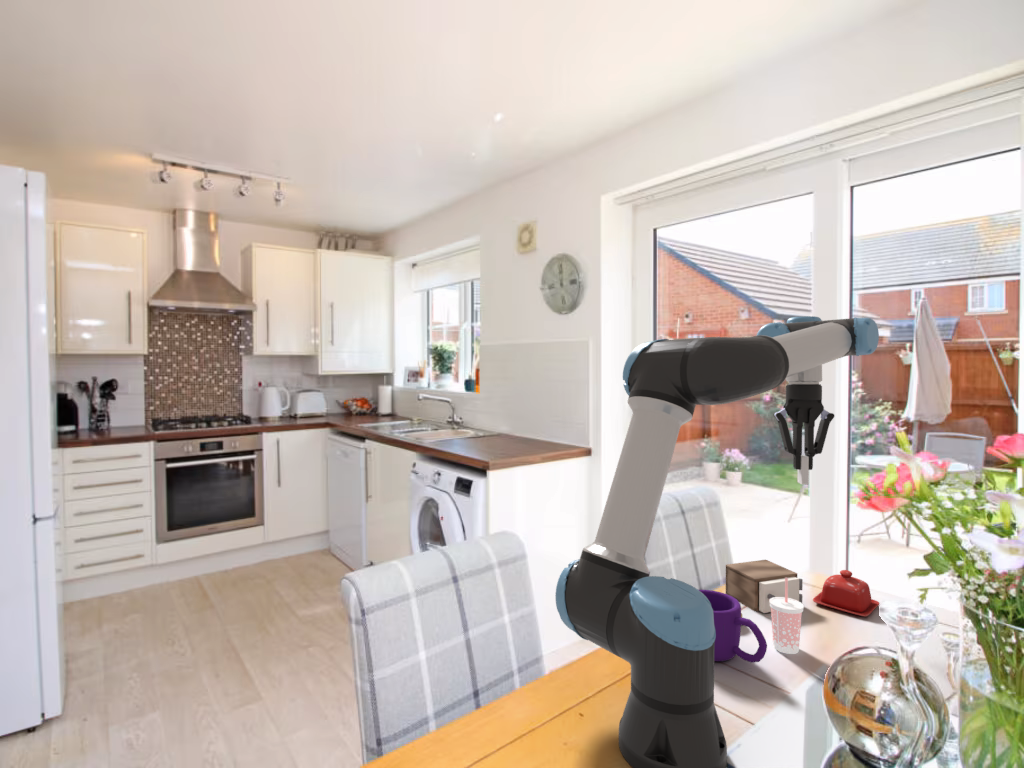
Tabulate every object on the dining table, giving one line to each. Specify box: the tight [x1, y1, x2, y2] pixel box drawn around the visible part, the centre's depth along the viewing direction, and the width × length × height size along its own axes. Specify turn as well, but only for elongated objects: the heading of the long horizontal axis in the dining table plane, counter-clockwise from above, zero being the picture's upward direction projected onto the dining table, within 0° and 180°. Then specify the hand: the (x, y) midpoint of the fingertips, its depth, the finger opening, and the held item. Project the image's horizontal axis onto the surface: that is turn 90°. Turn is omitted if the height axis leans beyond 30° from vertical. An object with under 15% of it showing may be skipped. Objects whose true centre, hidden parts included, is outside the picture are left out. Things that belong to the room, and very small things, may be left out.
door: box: [758, 577, 803, 614], centre depth 126 cm, size 12×3×6 cm, turn 109°
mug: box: [698, 589, 768, 664], centre depth 106 cm, size 17×11×10 cm, turn 35°
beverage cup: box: [769, 577, 804, 655], centre depth 109 cm, size 6×6×14 cm
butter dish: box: [812, 569, 881, 617], centre depth 129 cm, size 12×12×8 cm
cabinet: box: [725, 559, 798, 612], centre depth 132 cm, size 10×12×8 cm
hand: (802, 483), depth 130 cm, fingers closed
